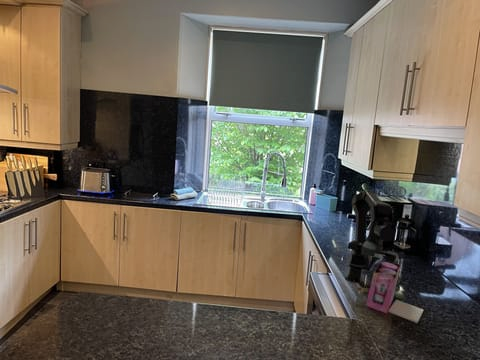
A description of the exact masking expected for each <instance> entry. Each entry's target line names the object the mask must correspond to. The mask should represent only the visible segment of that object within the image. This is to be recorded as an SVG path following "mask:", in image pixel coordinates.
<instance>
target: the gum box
mask: <svg viewBox="0 0 480 360" xmlns="http://www.w3.org/2000/svg"><path fill="white" fill-rule="evenodd" d="M401 266H402V264H400V263H397V262H395V263H393V262H389V261H386V259H380V262H379V264H378V265H377V267H376V268H375V270H374V271H373V273H372V277H371V278H372V280H371V282H370V287H369V292H368V296H367V299H366V304H365V307H368V308H371V309H374V310H376V311H380V312H381V313H384V314H388V313H389V312H388V311H389V309H390V308H391V306H392V305H391V304H392V302H393V300H394V296H395V293H396V288H397V284H398V279H399V274H400V271H401V270H400V269H401Z"/></svg>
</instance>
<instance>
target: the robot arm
mask: <svg viewBox="0 0 480 360" xmlns="http://www.w3.org/2000/svg"><path fill="white" fill-rule="evenodd" d="M376 193H377V192H376V191H373V190H367V189H364V190H362V192H359V193H357V194H355V195H354V196H353V198H352V199H351V205H352V211H353V213H354V214H355V232H354V233H355V234H354V236H355V238H354V240H352V241H349V242H348V245H347V249H349V250H350V253H349V254H348V256H347V258H346V261H345V262H346V265H347V267H349V269H348V274H347V276H345V277H344V280H347V281H350V282H353V283H356V284H361V283H362V282H363V281H364V279H363V278H362V276H363V272H364V270H366V271H367V272H368V273H369V272H371V269H373V267H374V265H375V263H376V262H377V261H381V260H382V259H383V258H384V260H386V261H389V262H393V263H397V262H398V260H399V254H398V253H397V252H393V251H392V250H388V251H383V242H390V241H392V240H394V238H395V235H396V234H395V230H394V227H392V225H394V221H395V216H394V210H393V208H392V206H391V205H390V204H389V203H387V202H383V201H382V200H381V199H380V198H379V197H378V196H377V194H376ZM369 212H370V217H371V219H370V221H371V222H370V226H369V231H368V235H367V225H368V224H367V221H368V218H367V217H368V213H369Z"/></svg>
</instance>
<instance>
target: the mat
mask: <svg viewBox="0 0 480 360" xmlns="http://www.w3.org/2000/svg"><path fill="white" fill-rule="evenodd" d="M423 312H424V309H423V308H419V307H417V306H415V305H412V304H410V303H406V302H403V301H402V300H398V299H395V301H394V302H393V303H392V305H390V307H389V309H388V312H387V313H390V314H393V315H395V316H398V317H399V318H404V319H406V320H408V321H411V322H414V323H416V324H418V323H419V321H420V318H421V317H422V315H423Z"/></svg>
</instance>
